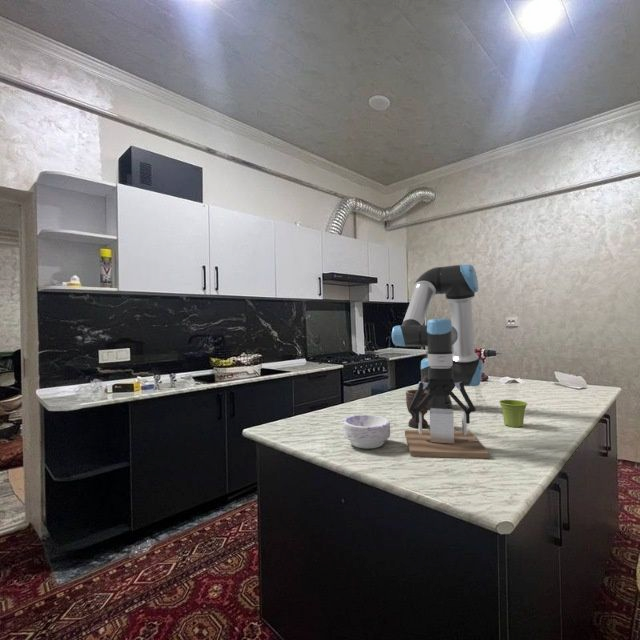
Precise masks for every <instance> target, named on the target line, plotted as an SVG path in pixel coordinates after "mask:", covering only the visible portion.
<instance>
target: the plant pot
mask: <svg viewBox="0 0 640 640" xmlns="http://www.w3.org/2000/svg"><path fill="white" fill-rule="evenodd" d="M498 403H499V404H500V407H501V411H502V416H503V417H502V418H503V423H504V425H505V426H508V427H511V428H520V427H521V428H523V426H524V417H525V410H526V408H527V406H528V402H526V401H523V400H516V399H502V400H499V402H498Z"/></svg>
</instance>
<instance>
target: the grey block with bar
mask: <svg viewBox="0 0 640 640" xmlns="http://www.w3.org/2000/svg"><path fill="white" fill-rule="evenodd" d="M454 419H455V418H454V409H452V408H451V409H436V408H431V409H430V410H429V429H430V439H431V442H439V443H452V444H454V431H455V429H454V428H455V423H454V422H455V421H454Z"/></svg>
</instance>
